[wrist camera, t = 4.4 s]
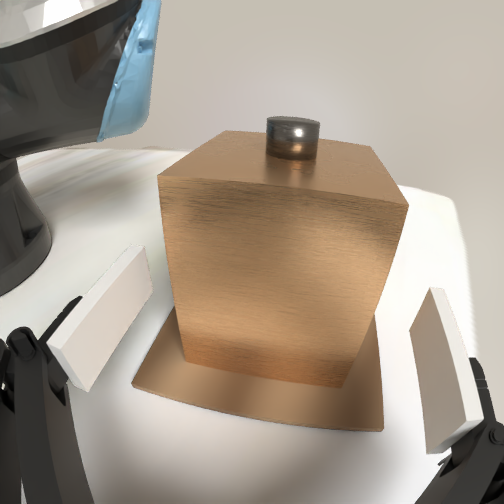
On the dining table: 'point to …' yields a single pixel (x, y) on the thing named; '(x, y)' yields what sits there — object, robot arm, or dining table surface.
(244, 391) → the board
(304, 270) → the wooden cube with knob
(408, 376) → the dining table surface
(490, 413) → the robot arm
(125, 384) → the dining table surface
